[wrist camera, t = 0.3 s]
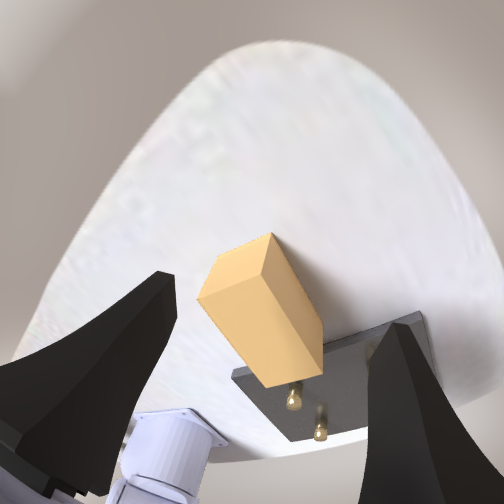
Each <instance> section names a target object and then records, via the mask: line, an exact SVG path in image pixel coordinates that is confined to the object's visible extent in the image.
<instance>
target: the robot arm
mask: <svg viewBox="0 0 504 504" xmlns="http://www.w3.org/2000/svg"><path fill="white" fill-rule="evenodd" d="M176 319H177V306H176V292H175V276H174V275H172V274H168V273H164V272H161V271H157V272H155V273H154V274H152V275H151V276H150V277H148V278H147V279H146V280H145V281H143V282H142V283H141V284H140V285H138V286H137V287H136V288H134V289H133V290H132V291H131V292H129V293H128V294H127V295H126V296H124V297H123V298H122V299H120V300H119V301H118V302H116V303H115V304H114V305H112V306H111V307H110V308H108V309H107V310H106V311H104V312H103V313H101V314H100V315H98V316H97V317H95V318H94V319H93V320H91V321H90V322H88V323H87V324H85V325H84V326H82V327H81V328H79V329H78V330H76V331H74V332H73V333H71V334H69V335H68V336H66V337H64V338H63V339H61V340H59V341H57V342H55V343H53V344H51V345H49V346H47V347H45V348H43V349H41V350H39V351H37V352H35V353H33V354H31V355H28V356H26V357H24V358H21V359H19V360H16V361H14V362H11V363H8V364H6V365H3V366H0V504H84V503H82V502H80V501H78V500H76V499H74V497H75V495H76V492H77V493H79V494H81V495H83V496H86V495H87V493H88V491H89V492H91V493H93V494H95V495H97V496H99V497H100V496H104V495H107V494H109V495H108V498H107V500H106V503H105V504H198V503H199V499H198V498H196V497H197V494H198V491H199V487H200V484H201V480H202V477H203V474H204V470H205V467H206V463H207V460H208V457H209V453H210V450H211V448H212V447H226V446H228V442H227V441H226V440H225V439H224V438H222V437H221V436H220V435H219V434H218V433H217V432H215V431H214V430H213V429H212V428H211V427H210V426H209V425H208V424H206V423H205V422H204V421H203V420H202V419H201V418H200V417H199V416H198V415H197V414H195V413H194V412H193V411H192V410H191V409H180V410H171V411H162V412H152V413H140V414H134V416H133V417H134V418H135V419H136V420H137V423H136V426H135V428H134V430H133V432H132V434H131V436H130V439H129V441H128V443H127V445H126V447H125V449H124V452H123V454H122V457H121V464H120V465H121V471H122V474H123V476H124V477H123V478H121V479H117V480H116V482H115V483H114V485H113V487H112V489H111V491H110V493H109V490H110V485H111V481H112V477H113V473H114V469H115V465H116V462H117V458H118V455H119V451H120V448H121V445H122V442H123V439H124V436H125V433H126V430H127V427H128V424H129V421H130V419H131V416H132V413H133V411H134V408H135V405H136V403H137V401H138V399H139V396H140V394H141V392H142V390H143V388H144V386H145V385H146V383H147V381H148V379H149V377H150V375H151V373H152V371H153V369H154V368H155V366H156V364H157V362H158V360H159V358H160V356H161V354H162V352H163V351H164V349H165V347H166V345H167V343H168V340H169V338H170V335H171V333H172V330H173V328H174V325H175V322H176ZM367 390H368V449H367V459H366V466H365V472H364V479H363V483H362V488H361V493H360V498H359V502H358V504H504V477H503V476H502V475H501V474H500V473H499V472H498V470H497V469H496V468H495V467H494V466H493V465H492V464H491V463H490V461H489V460H488V459H487V458H486V456H485V455H484V454H483V453H482V451H481V450H480V449H479V447H478V446H477V445H476V443H475V442H474V441H473V439H472V438H471V436H470V435H469V433H468V432H467V431H466V429H465V428H464V426H463V424H462V423H461V421H460V420H459V418H458V417H457V415H456V413H455V412H454V410H453V408H452V407H451V405H450V403H449V401H448V399H447V398H446V396H445V394H444V392H443V391H442V389H441V387H440V385H439V383H438V381H437V379H436V377H435V375H434V374H433V372H432V370H431V368H430V366H429V364H428V362H427V360H426V358H425V356H424V354H423V352H422V350H421V348H420V346H419V344H418V342H417V340H416V338H415V336H414V334H413V332H412V330H411V329H410V327H409V325H407V324H401V323H395V322H392V323H391V325H390V327H389V328H388V330H387V332H386V333H385V335H384V337H383V338H382V340H381V342H380V343H379V345H378V347H377V348H376V350H375V352H374V353H373V355H372V356H371V358H370V363H369V373H368V386H367ZM127 481H128V482H127Z"/></svg>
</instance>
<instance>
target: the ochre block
mask: <svg viewBox="0 0 504 504" xmlns="http://www.w3.org/2000/svg"><path fill="white" fill-rule="evenodd" d="M196 300H197V301H198V302H199V304H200V305H201V306H202V308H203V309H204V310H205V312H206V313H207V314H208V316H209V317H210V318H211V320H212V321H213V322H214V324H215V325H216V326H217V328H218V329H219V330H220V331H221V333H222V334H223V335H224V337H225V338H226V339H227V340H228V342H229V343H230V344H231V346H232V347H233V348H234V349H235V351H236V352H237V353H238V354H239V356H240V357H241V358H242V359H243V361H244V362H245V363H246V364H247V366H248V367H249V368H250V369H251V371H252V372H253V373H254V374H255V375H256V377H257V378H258V379H259V380H260V382H261V383H262V384H263V385H264V386H265V388H269V387H273V386H278V385H282V384H286V383H290V382H294V381H298V380H302V379H306V378H310V377H313V376H317V375H321V374H323V323H322V321H321V319H320V318H319V316H318V314H317V312H316V310H315V308H314V307H313V305H312V303H311V301H310V299H309V298H308V296H307V294H306V292H305V290H304V289H303V287H302V285H301V283H300V282H299V280H298V278H297V276H296V274H295V273H294V271H293V269H292V267H291V266H290V264H289V262H288V260H287V258H286V257H285V255H284V253H283V251H282V250H281V248H280V246H279V244H278V243H277V241H276V239H275V237H274V236H273V234H272V232H271V233H269V234H266V235H264V236H262V237H260V238H257V239H255V240H253V241H251V242H248V243H246V244H244V245H242V246H239V247H237V248H235V249H233V250H230V251H228V252H226V253H224V254H222V255H219V256H218V258H217V260H216V262H215V264H214V266H213V268H212V270H211V272H210V273H209V275H208V277H207V279H206V281H205V283H204V285H203V287H202V289H201V291H200V293H199V295H198V297H197V299H196Z"/></svg>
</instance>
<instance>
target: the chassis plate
mask: <svg viewBox="0 0 504 504" xmlns="http://www.w3.org/2000/svg"><path fill="white" fill-rule="evenodd" d="M392 322H395V323H401V324H407V325H409V327H410V329H411V330H412V332H413V334H414V336H415V338H416V340H417V342H418V344H419V346H420V348H421V350H422V352H423V354H424V356H425V358H426V360H427V362H428V364H429V366H430V368H431V370H432V372H433V374H434V375H435V371H434V366H433V361H432V356H431V352H430V347H429V343H428V339H427V335H426V331H425V327H424V323H423V319H422V316H421V314H420V311H417V312H414V313H412V314H409V315H407V316H404V317H401V318H399V319H396V320H394V321H391V322H388V323H386V324H383V325H380V326H377V327H375V328H372V329H369V330H366V331H363V332H360V333H358V334H355V335H352V336H349V337H346V338H343V339H340V340H337V341H334V342H330V343H327V344H324V345H323V374H321V375H317V376H313V377H310V378H306V379H302V380H298V381H294V382H290V383H286V384H282V385H278V386H273V387H269V388H265V386H264V385H263V384H262V383H261V382H260V380H259V379H258V378H257V377H256V375H255V374H254V373H253V372H252V371H251V369H250V368H249V367H248V366H246V367H242V368H238V369H234V370H233V373H232V376H231V379H232V380H233V381H234V382H235V383H236V384H237V385H238V387H239V388H240V389H241V390H242V391H243V392H244V393H245V394H246V395H247V397H248V398H249V399H250V400H251V401H252V402H253V403H254V404H255V405H256V406H257V407H258V408H259V410H260V411H261V412H262V413H263V414H264V415H265V416H266V417H267V418H268V419H269V420H270V421H271V422H272V423H273V424H274V425H275V426H276V427H277V429H278V430H279V431H280V432H281V433H282V434H283V435H284V436H285V437H286V438H287V439H288V440H289V441H290V442H295V441H301V440H307V439H312V438H314V440H316V441H325V440H327V436H328V435H333V434H337V433H342V432H346V431H350V430H355V429H359V428H363V427H367V426H368V390H367V386H368V373H369V363H370V358H371V356H372V355H373V353H374V352H375V350H376V348H377V347H378V345H379V343H380V342H381V340H382V338H383V337H384V335H385V333H386V332H387V330H388V328H389V327H390V325H391V323H392ZM435 377H436V376H435Z"/></svg>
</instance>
